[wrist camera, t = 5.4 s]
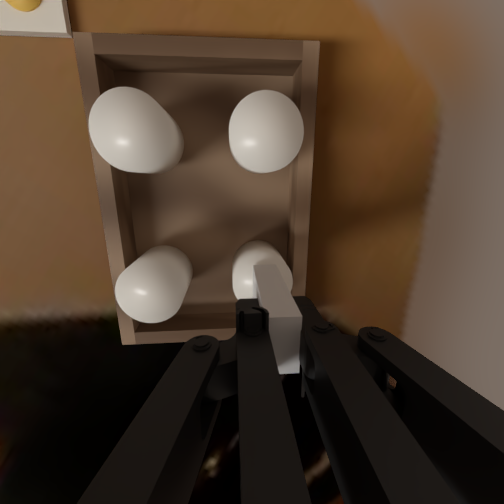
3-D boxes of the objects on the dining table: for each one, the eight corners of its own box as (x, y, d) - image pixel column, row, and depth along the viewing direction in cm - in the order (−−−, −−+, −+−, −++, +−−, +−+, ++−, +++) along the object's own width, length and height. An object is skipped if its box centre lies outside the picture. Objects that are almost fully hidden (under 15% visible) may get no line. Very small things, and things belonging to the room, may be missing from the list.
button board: (294, 317, 24) (302, 336, 21) (136, 323, 23) (122, 344, 20) (306, 62, 18) (319, 41, 15) (99, 56, 17) (72, 31, 14)
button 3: (194, 294, 20) (185, 321, 16) (141, 296, 20) (120, 324, 16) (190, 244, 19) (180, 261, 15) (135, 245, 19) (110, 262, 15)
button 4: (186, 173, 18) (173, 172, 14) (125, 173, 17) (95, 172, 14) (181, 108, 17) (166, 87, 13) (117, 107, 16) (81, 85, 12)
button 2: (287, 173, 18) (301, 172, 14) (230, 173, 18) (229, 172, 14) (289, 110, 17) (305, 90, 13) (228, 109, 17) (227, 88, 13)
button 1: (280, 286, 22) (291, 309, 18) (232, 288, 21) (233, 312, 17) (282, 239, 20) (294, 253, 17) (231, 240, 20) (231, 255, 16)
